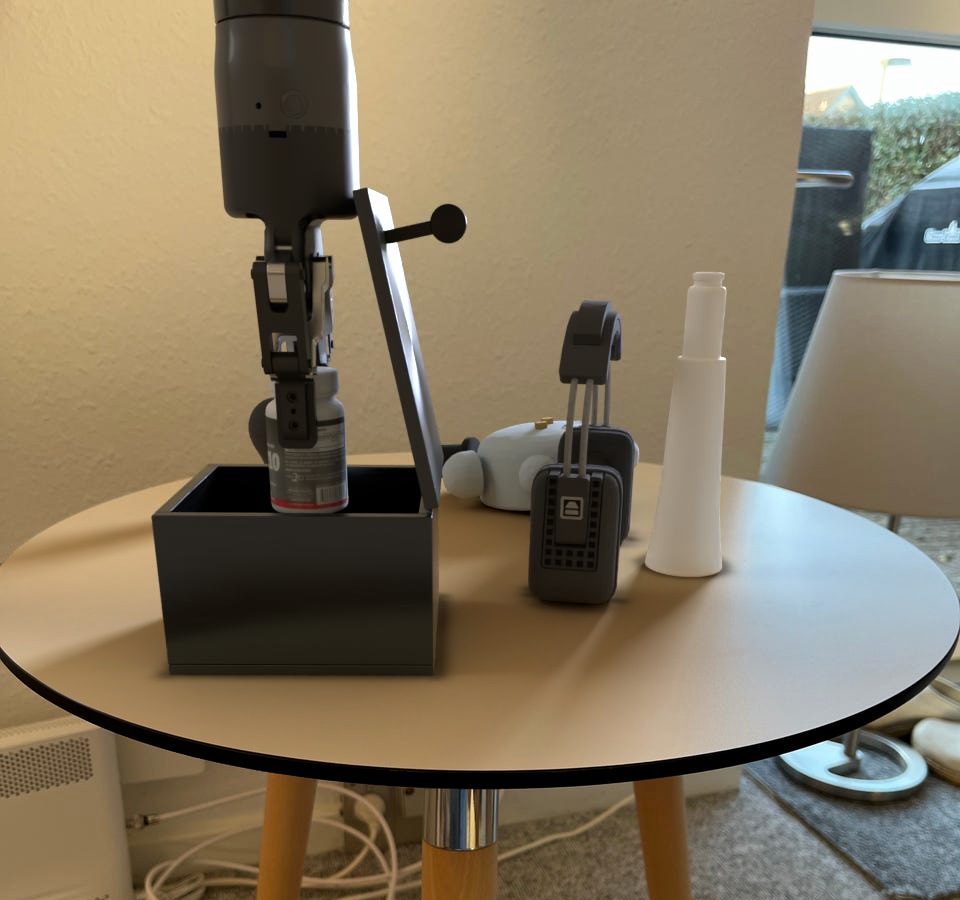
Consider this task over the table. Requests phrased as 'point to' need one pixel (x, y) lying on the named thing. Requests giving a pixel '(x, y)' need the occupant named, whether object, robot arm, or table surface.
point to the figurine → (504, 463)
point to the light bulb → (259, 429)
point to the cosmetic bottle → (694, 442)
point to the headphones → (583, 475)
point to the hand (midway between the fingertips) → (305, 437)
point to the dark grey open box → (298, 577)
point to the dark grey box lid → (407, 323)
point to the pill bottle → (311, 456)
